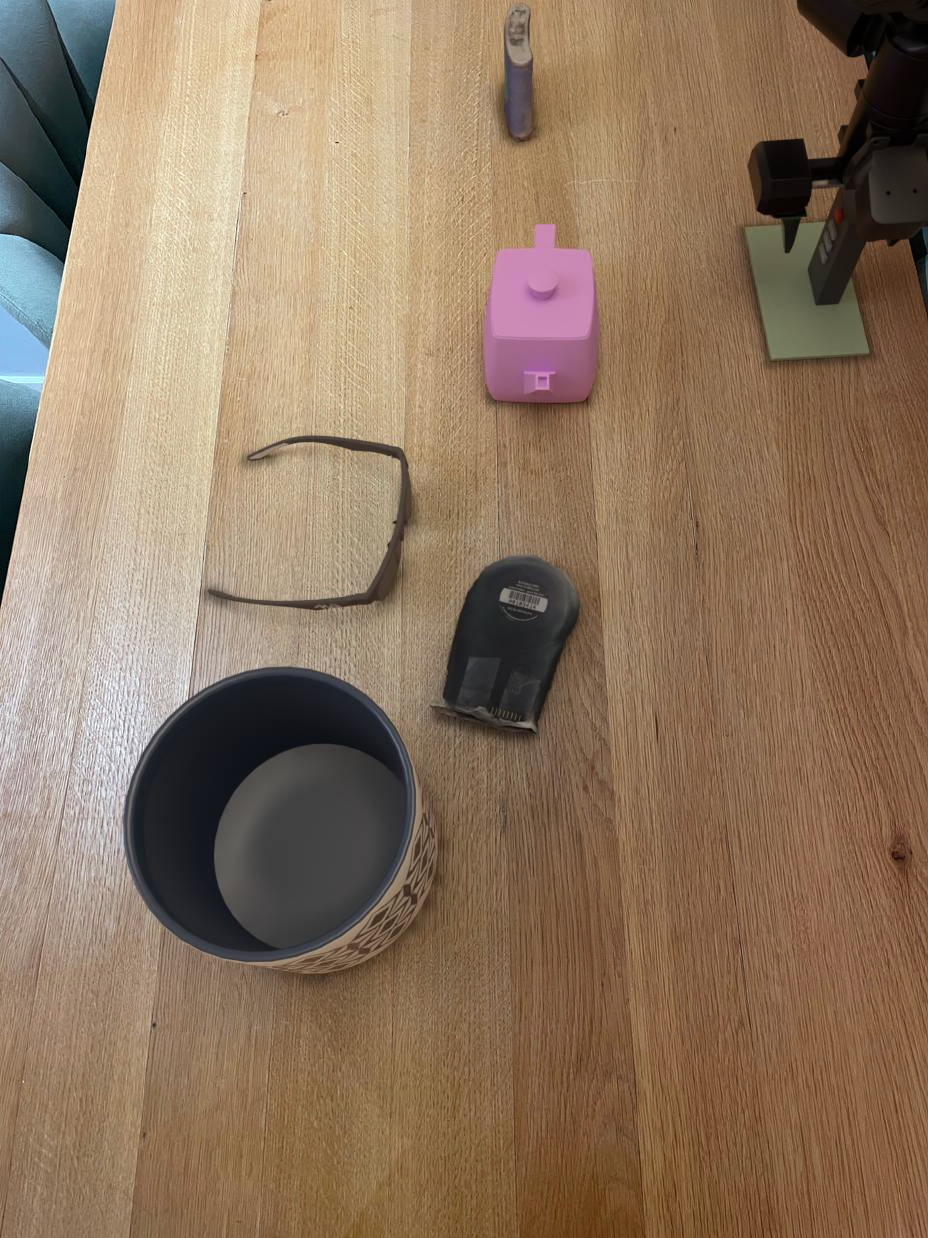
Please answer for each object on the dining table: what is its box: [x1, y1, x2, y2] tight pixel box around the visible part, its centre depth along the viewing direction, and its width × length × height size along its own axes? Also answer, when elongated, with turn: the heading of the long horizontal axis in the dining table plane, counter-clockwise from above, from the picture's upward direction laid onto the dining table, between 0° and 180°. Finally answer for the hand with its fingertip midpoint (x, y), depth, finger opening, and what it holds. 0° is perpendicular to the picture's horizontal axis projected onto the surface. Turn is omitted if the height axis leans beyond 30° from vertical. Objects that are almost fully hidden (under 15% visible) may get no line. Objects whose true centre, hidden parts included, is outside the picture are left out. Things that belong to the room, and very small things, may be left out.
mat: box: [744, 221, 870, 362], centre depth 90 cm, size 16×9×1 cm, turn 2°
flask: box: [503, 2, 534, 142], centre depth 97 cm, size 9×3×11 cm, turn 1°
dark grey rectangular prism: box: [808, 187, 867, 305], centre depth 85 cm, size 2×4×10 cm, turn 2°
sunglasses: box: [207, 434, 413, 611], centre depth 81 cm, size 16×17×5 cm
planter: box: [122, 665, 439, 975], centre depth 65 cm, size 18×18×16 cm
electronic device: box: [428, 554, 581, 737], centre depth 76 cm, size 9×6×15 cm
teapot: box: [483, 223, 600, 404], centre depth 84 cm, size 18×10×10 cm, turn 177°
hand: (837, 246), depth 85 cm, fingers open, 9 cm apart
